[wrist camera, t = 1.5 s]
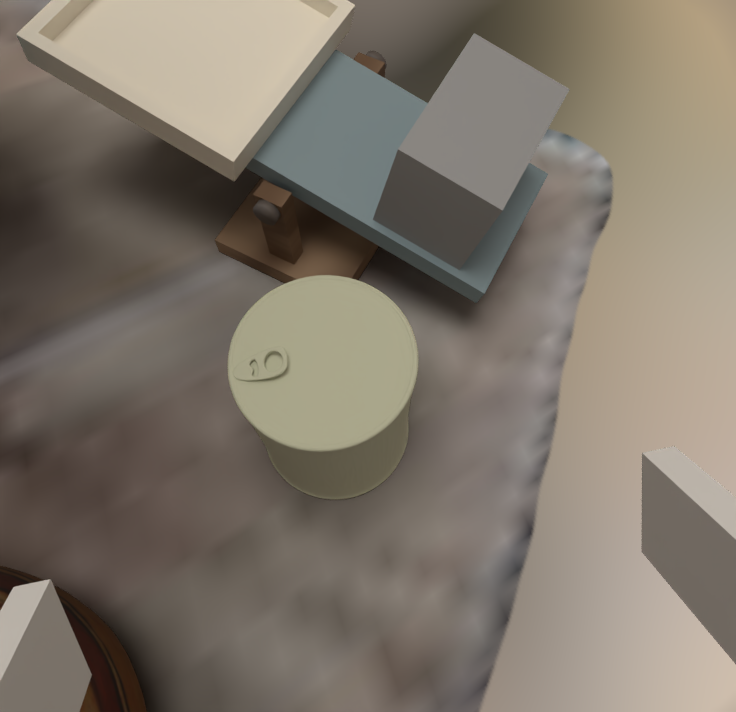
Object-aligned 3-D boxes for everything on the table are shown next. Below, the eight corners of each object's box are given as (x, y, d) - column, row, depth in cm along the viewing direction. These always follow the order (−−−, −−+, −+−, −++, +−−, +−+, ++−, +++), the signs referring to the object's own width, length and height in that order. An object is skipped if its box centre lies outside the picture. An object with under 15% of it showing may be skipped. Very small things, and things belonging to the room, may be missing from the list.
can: (255, 376, 42) (213, 286, 31) (391, 349, 43) (396, 253, 32) (275, 514, 39) (236, 468, 28) (423, 483, 39) (442, 426, 28)
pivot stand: (219, 251, 46) (189, 179, 39) (322, 111, 51) (314, 24, 44) (339, 309, 44) (332, 245, 37) (434, 157, 49) (445, 74, 42)
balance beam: (36, 78, 38) (-21, -46, 30) (170, -57, 43) (152, -196, 35) (462, 328, 38) (517, 269, 30) (549, 165, 43) (617, 77, 35)
